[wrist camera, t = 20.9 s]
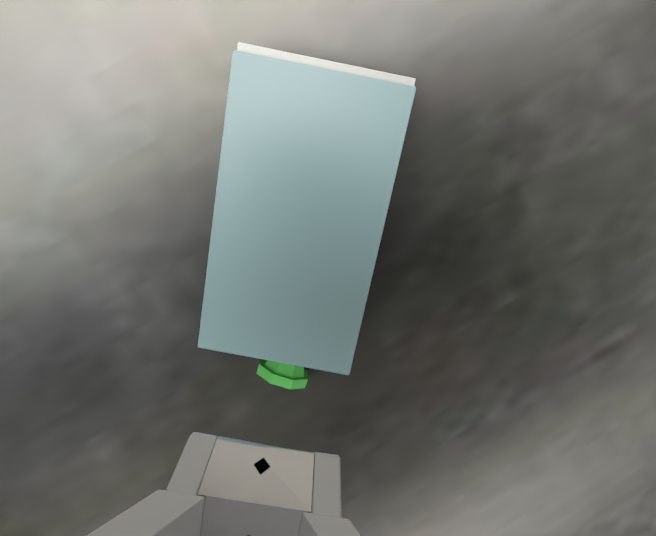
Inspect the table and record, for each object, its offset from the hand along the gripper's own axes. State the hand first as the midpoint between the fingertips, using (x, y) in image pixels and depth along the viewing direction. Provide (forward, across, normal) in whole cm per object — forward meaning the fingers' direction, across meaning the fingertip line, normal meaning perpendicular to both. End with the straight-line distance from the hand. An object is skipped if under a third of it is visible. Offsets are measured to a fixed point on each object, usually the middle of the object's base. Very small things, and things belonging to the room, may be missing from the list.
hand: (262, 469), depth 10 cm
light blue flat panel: (+21, +6, 0) cm, 22 cm away
